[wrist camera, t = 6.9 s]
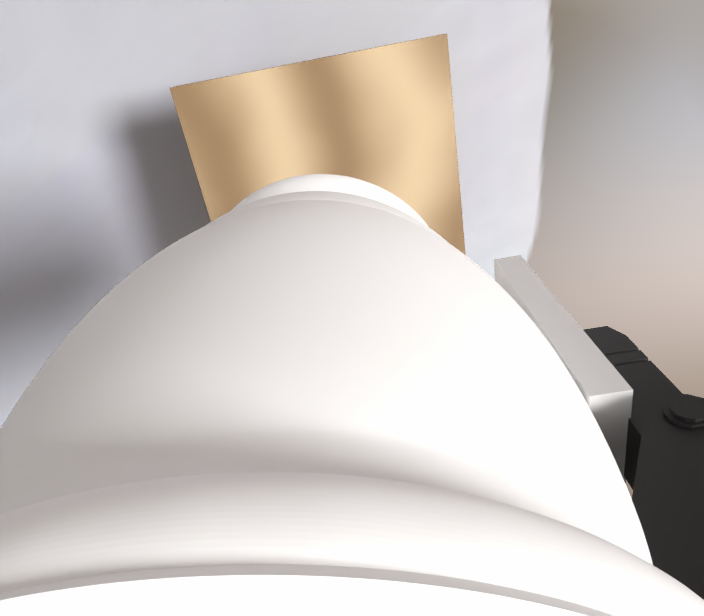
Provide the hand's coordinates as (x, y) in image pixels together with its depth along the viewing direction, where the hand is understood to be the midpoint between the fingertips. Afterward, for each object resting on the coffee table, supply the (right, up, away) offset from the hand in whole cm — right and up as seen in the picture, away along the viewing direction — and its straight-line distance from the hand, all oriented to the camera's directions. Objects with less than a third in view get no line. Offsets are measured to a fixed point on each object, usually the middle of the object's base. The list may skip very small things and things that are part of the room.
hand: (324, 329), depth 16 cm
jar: (0, +1, +3) cm, 3 cm away
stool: (0, +10, +19) cm, 22 cm away
